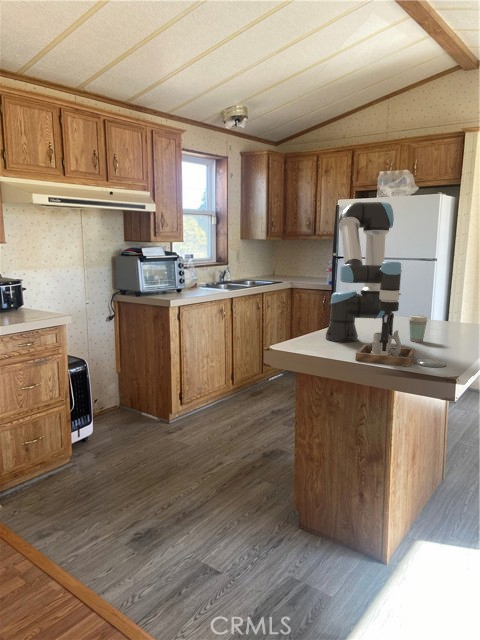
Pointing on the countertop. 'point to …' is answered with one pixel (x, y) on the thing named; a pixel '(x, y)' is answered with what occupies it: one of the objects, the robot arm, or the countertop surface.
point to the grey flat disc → (430, 363)
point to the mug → (377, 346)
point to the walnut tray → (385, 356)
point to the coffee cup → (417, 327)
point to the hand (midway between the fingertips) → (385, 356)
